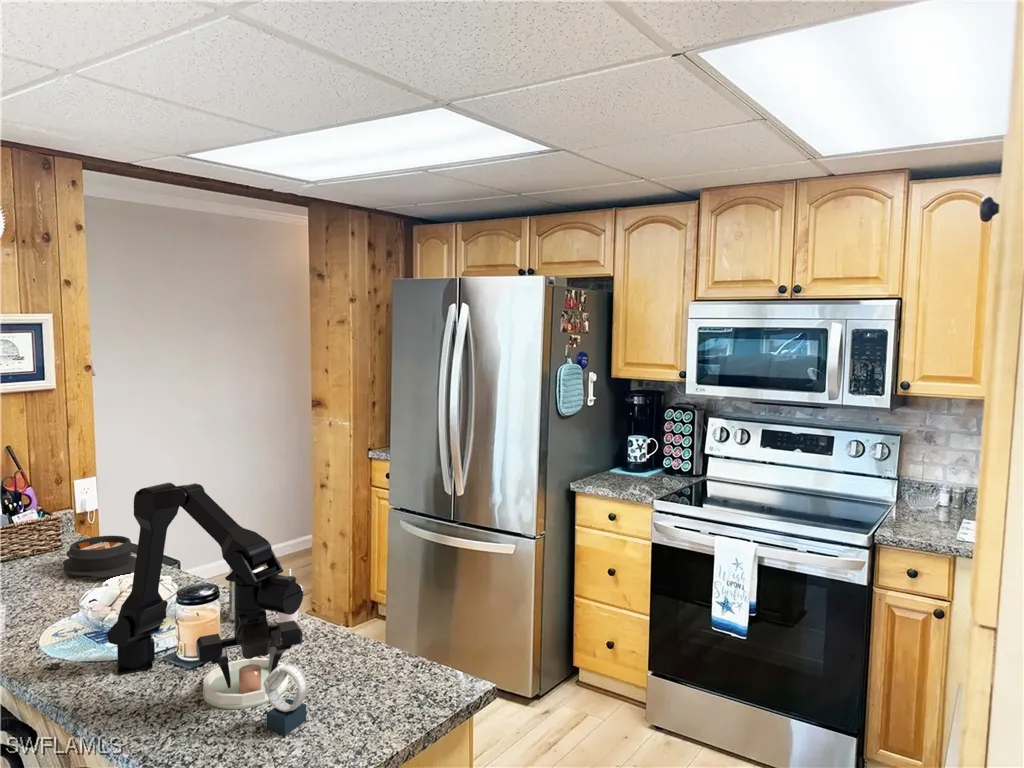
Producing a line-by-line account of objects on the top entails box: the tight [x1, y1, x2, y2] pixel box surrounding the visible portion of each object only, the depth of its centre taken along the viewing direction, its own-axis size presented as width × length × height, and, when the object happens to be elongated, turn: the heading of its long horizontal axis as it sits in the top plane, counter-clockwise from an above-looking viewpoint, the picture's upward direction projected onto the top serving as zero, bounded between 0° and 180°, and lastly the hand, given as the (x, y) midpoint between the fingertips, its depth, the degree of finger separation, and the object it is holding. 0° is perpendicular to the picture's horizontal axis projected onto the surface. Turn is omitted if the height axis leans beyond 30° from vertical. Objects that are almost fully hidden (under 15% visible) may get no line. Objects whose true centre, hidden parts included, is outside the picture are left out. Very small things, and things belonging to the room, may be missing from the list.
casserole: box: [62, 535, 136, 579], centre depth 205 cm, size 25×19×8 cm
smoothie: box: [278, 568, 304, 624], centre depth 171 cm, size 6×6×14 cm
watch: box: [263, 663, 308, 737], centre depth 129 cm, size 6×8×11 cm
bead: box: [239, 664, 261, 694], centre depth 138 cm, size 4×4×5 cm
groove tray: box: [202, 657, 289, 710], centre depth 142 cm, size 16×16×2 cm
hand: (250, 682), depth 138 cm, fingers open, 7 cm apart
